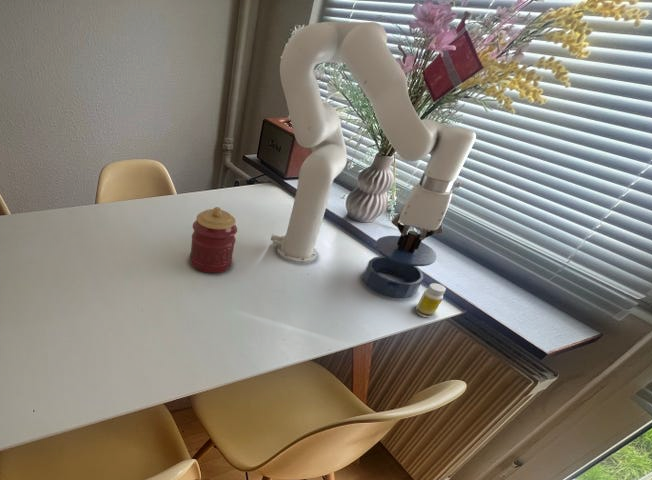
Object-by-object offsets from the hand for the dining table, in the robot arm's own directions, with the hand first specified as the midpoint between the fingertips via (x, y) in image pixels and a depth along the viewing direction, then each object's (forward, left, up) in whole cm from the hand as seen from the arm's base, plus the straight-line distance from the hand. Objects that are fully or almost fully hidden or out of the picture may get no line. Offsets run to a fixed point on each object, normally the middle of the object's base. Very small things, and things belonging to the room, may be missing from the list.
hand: (406, 248), depth 120 cm
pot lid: (0, 0, -1) cm, 1 cm away
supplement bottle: (+10, -10, -12) cm, 19 cm away
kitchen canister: (-52, -14, -12) cm, 55 cm away
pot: (0, 0, -12) cm, 12 cm away
